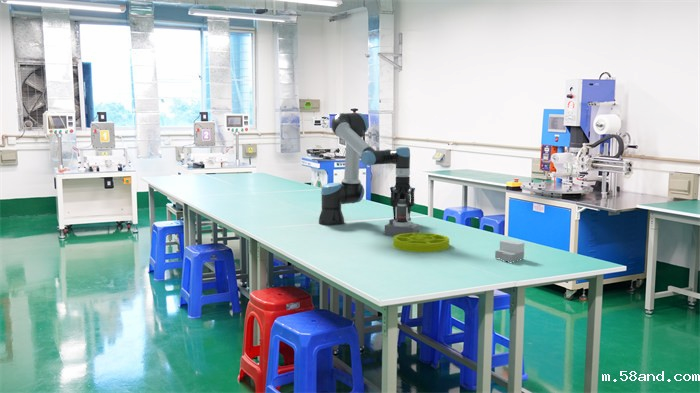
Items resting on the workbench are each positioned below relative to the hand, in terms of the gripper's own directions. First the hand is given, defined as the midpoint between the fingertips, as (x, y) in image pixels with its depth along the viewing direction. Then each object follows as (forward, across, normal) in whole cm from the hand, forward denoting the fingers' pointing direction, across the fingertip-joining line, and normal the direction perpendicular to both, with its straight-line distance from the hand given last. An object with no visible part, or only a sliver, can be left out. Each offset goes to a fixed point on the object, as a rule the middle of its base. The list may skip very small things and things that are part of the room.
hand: (402, 218), depth 340 cm
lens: (+2, 0, 0) cm, 2 cm away
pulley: (+9, +18, -23) cm, 31 cm away
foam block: (+10, +65, -37) cm, 75 cm away
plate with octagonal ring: (+8, 0, 0) cm, 8 cm away
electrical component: (+9, -10, +27) cm, 30 cm away
